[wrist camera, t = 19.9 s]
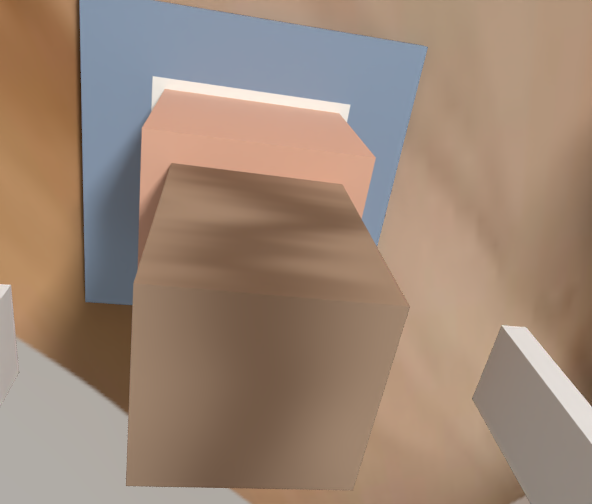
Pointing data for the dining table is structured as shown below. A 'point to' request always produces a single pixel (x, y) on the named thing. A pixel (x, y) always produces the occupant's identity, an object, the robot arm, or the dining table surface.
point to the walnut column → (257, 335)
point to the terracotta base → (247, 146)
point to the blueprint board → (225, 83)
